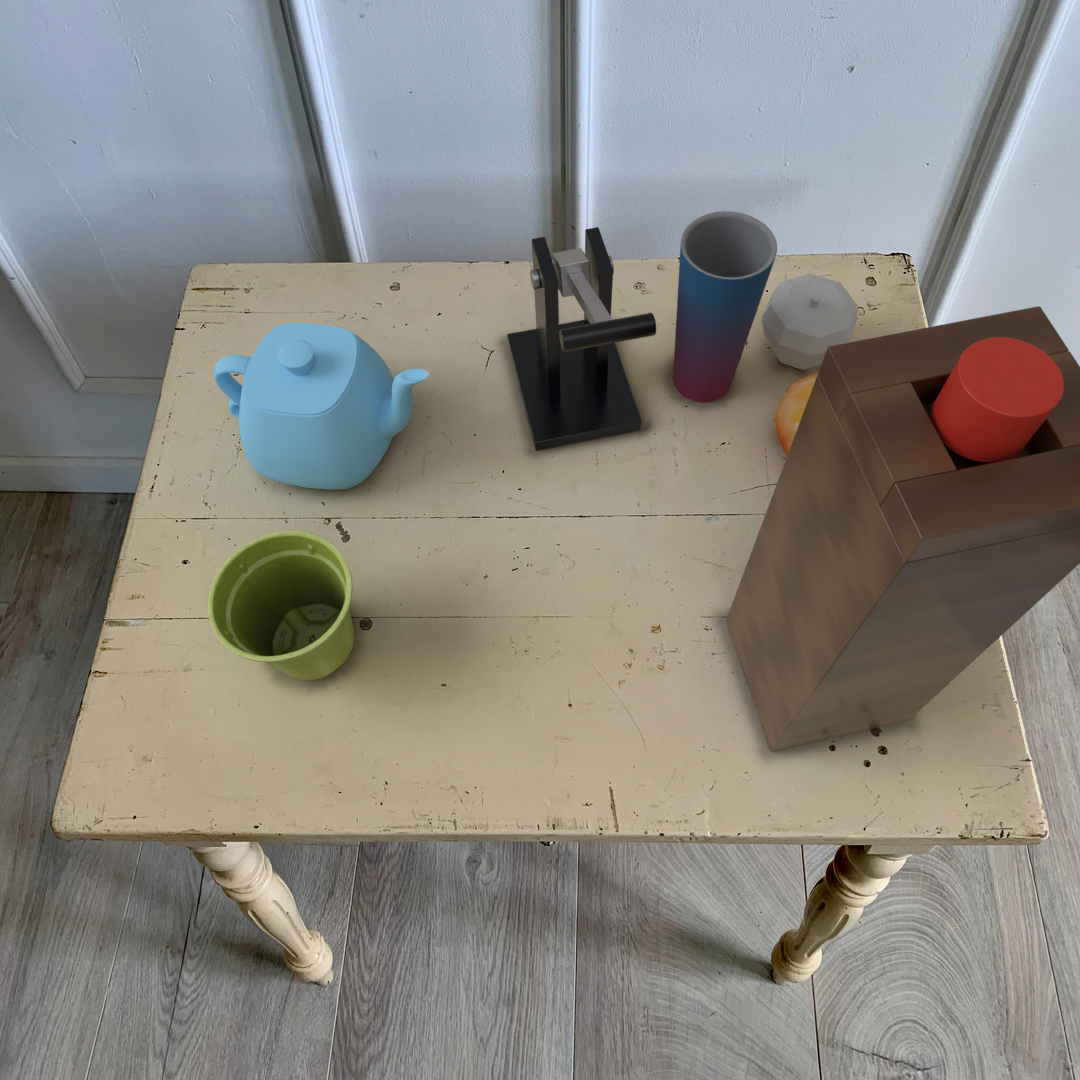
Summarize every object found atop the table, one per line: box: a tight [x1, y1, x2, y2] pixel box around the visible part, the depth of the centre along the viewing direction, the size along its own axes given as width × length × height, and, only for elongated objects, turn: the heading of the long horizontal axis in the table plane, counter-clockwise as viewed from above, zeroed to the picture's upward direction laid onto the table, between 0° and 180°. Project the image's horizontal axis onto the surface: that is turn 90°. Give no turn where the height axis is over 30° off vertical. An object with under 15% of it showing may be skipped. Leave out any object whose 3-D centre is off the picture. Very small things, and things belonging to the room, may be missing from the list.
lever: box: [551, 247, 657, 352], centre depth 61 cm, size 13×6×2 cm, turn 12°
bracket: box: [506, 226, 643, 451], centre depth 70 cm, size 12×9×15 cm
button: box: [931, 337, 1064, 462], centre depth 36 cm, size 4×4×3 cm
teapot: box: [213, 322, 430, 491], centre depth 70 cm, size 13×11×18 cm
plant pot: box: [207, 530, 355, 681], centre depth 62 cm, size 9×9×9 cm
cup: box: [672, 210, 778, 403], centre depth 70 cm, size 7×7×15 cm
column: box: [725, 305, 1080, 752], centre depth 50 cm, size 10×10×30 cm
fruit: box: [773, 372, 818, 457], centre depth 70 cm, size 8×8×8 cm
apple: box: [760, 273, 858, 371], centre depth 74 cm, size 8×8×7 cm
